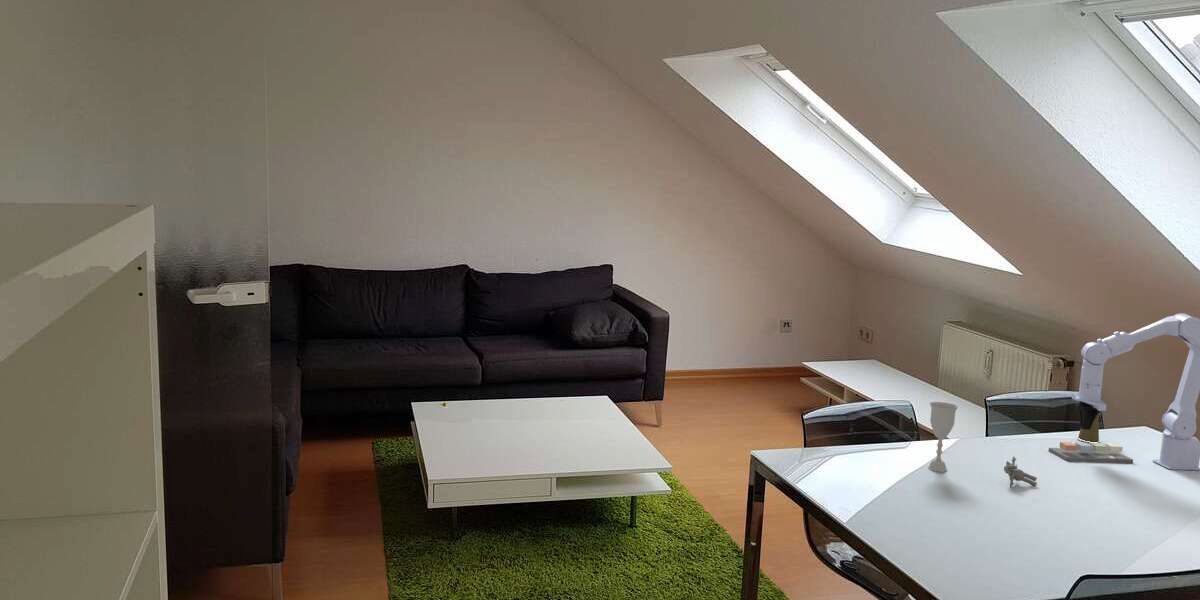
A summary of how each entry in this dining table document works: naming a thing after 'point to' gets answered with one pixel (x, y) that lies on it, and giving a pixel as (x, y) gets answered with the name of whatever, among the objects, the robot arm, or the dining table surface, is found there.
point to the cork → (1091, 431)
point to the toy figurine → (1018, 474)
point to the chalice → (941, 429)
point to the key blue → (1083, 446)
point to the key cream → (1113, 447)
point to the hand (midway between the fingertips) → (1085, 428)
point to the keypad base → (1091, 456)
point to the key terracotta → (1068, 446)
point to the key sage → (1099, 447)
